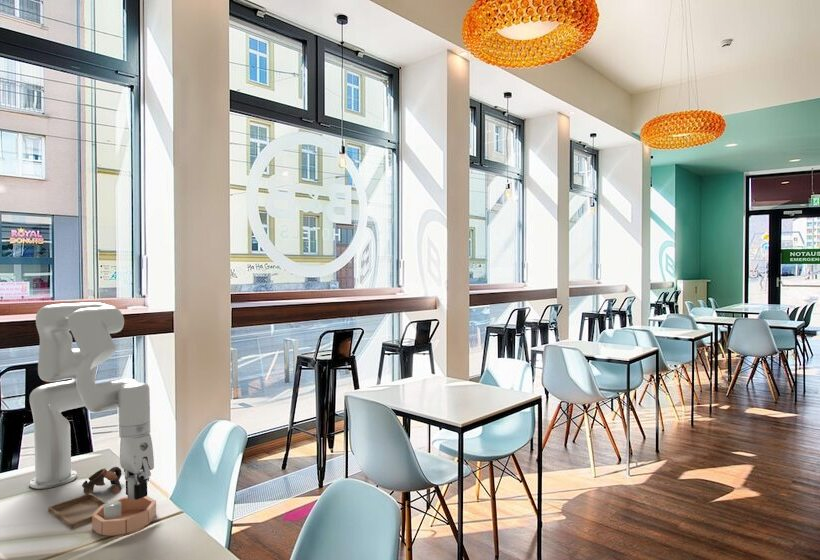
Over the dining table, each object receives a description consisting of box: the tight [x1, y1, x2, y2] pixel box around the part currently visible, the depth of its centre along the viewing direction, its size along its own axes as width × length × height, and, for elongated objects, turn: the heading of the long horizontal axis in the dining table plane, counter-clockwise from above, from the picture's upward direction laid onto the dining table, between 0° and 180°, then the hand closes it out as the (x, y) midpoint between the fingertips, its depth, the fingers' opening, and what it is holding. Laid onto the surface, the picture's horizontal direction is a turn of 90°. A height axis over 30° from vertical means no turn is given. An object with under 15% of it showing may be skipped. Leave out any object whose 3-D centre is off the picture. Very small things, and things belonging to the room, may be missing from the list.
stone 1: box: [104, 500, 122, 520], centre depth 134 cm, size 4×4×6 cm
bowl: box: [91, 495, 157, 537], centre depth 136 cm, size 14×14×4 cm
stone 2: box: [127, 474, 143, 500], centre depth 138 cm, size 4×4×6 cm
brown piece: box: [81, 466, 123, 495], centre depth 156 cm, size 12×9×8 cm
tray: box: [47, 492, 108, 530], centre depth 142 cm, size 16×11×2 cm
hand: (136, 494), depth 138 cm, fingers closed on stone 2, 4 cm apart
